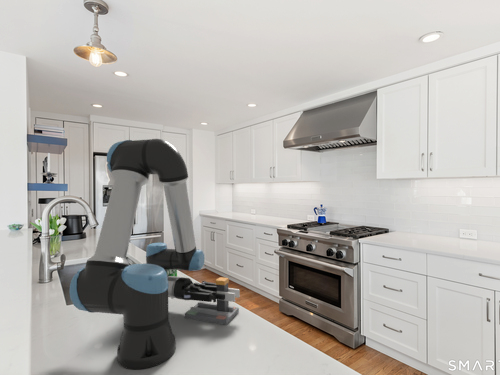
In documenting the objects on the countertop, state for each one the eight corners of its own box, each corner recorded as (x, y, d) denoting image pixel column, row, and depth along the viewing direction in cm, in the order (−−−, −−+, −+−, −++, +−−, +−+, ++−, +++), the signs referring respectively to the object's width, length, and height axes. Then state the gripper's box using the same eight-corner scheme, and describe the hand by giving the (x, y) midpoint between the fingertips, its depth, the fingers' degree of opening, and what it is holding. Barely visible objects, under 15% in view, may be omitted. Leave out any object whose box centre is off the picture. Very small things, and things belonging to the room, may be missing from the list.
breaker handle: (225, 314, 98) (224, 281, 98) (216, 312, 100) (215, 280, 99) (229, 310, 101) (228, 278, 101) (220, 308, 103) (220, 277, 103)
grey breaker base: (226, 324, 95) (226, 316, 94) (184, 317, 100) (184, 309, 100) (238, 312, 104) (238, 304, 104) (199, 306, 110) (199, 298, 110)
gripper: (191, 290, 115) (246, 297, 106) (164, 306, 100) (226, 316, 91) (190, 271, 114) (245, 277, 106) (164, 284, 99) (226, 293, 91)
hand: (236, 295), depth 98 cm, fingers closed on breaker handle, 3 cm apart
